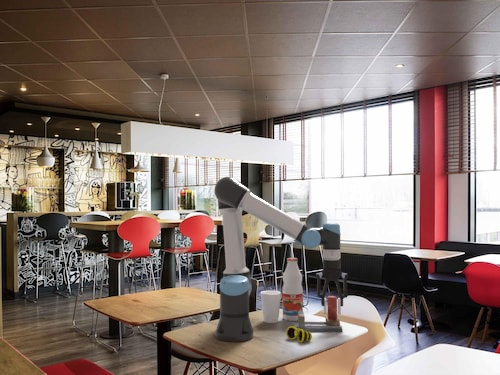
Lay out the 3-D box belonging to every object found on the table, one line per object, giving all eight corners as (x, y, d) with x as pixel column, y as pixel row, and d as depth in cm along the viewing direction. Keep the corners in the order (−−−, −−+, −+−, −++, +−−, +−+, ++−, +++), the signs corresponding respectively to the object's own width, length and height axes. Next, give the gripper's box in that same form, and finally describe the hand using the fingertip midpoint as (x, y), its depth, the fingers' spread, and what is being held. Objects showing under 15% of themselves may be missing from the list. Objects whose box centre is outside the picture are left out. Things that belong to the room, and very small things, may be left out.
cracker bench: (298, 331, 178) (298, 316, 178) (297, 325, 188) (297, 311, 188) (342, 332, 176) (342, 317, 177) (339, 325, 186) (339, 311, 187)
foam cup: (265, 324, 189) (265, 294, 189) (257, 319, 197) (257, 291, 198) (284, 322, 192) (284, 293, 193) (276, 317, 201) (276, 289, 201)
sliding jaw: (327, 325, 178) (327, 298, 179) (325, 320, 186) (325, 295, 187) (339, 325, 178) (339, 299, 178) (337, 320, 186) (336, 295, 186)
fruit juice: (303, 316, 203) (302, 257, 204) (302, 321, 194) (302, 259, 195) (283, 316, 204) (282, 257, 206) (281, 321, 195) (281, 259, 196)
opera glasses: (312, 344, 164) (313, 330, 165) (302, 344, 161) (304, 330, 162) (294, 338, 172) (296, 325, 172) (284, 338, 168) (286, 325, 169)
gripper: (310, 260, 180) (311, 315, 179) (354, 260, 179) (355, 316, 178) (309, 258, 188) (310, 311, 186) (351, 258, 186) (352, 312, 185)
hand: (332, 313), depth 182 cm, fingers open, 5 cm apart
